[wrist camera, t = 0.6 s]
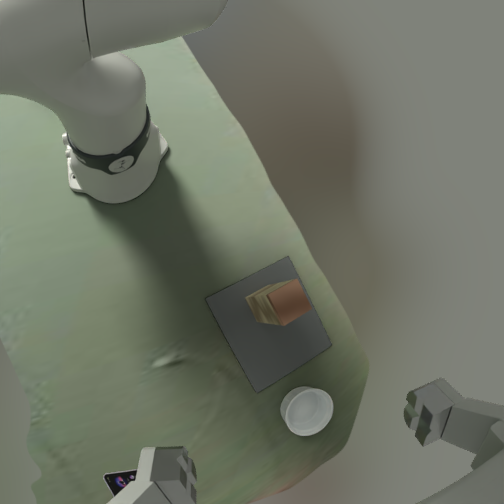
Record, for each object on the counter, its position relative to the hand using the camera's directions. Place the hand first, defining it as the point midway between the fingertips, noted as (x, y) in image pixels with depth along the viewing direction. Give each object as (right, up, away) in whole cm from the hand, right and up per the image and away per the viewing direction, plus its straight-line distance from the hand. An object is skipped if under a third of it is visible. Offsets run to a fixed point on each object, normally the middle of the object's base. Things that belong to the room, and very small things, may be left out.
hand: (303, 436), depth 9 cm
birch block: (0, -2, +41) cm, 41 cm away
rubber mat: (+2, -6, +41) cm, 42 cm away
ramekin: (+7, -21, +40) cm, 46 cm away
